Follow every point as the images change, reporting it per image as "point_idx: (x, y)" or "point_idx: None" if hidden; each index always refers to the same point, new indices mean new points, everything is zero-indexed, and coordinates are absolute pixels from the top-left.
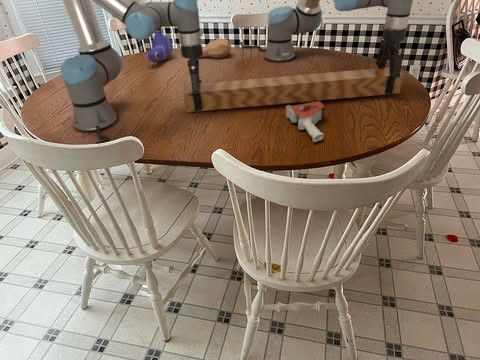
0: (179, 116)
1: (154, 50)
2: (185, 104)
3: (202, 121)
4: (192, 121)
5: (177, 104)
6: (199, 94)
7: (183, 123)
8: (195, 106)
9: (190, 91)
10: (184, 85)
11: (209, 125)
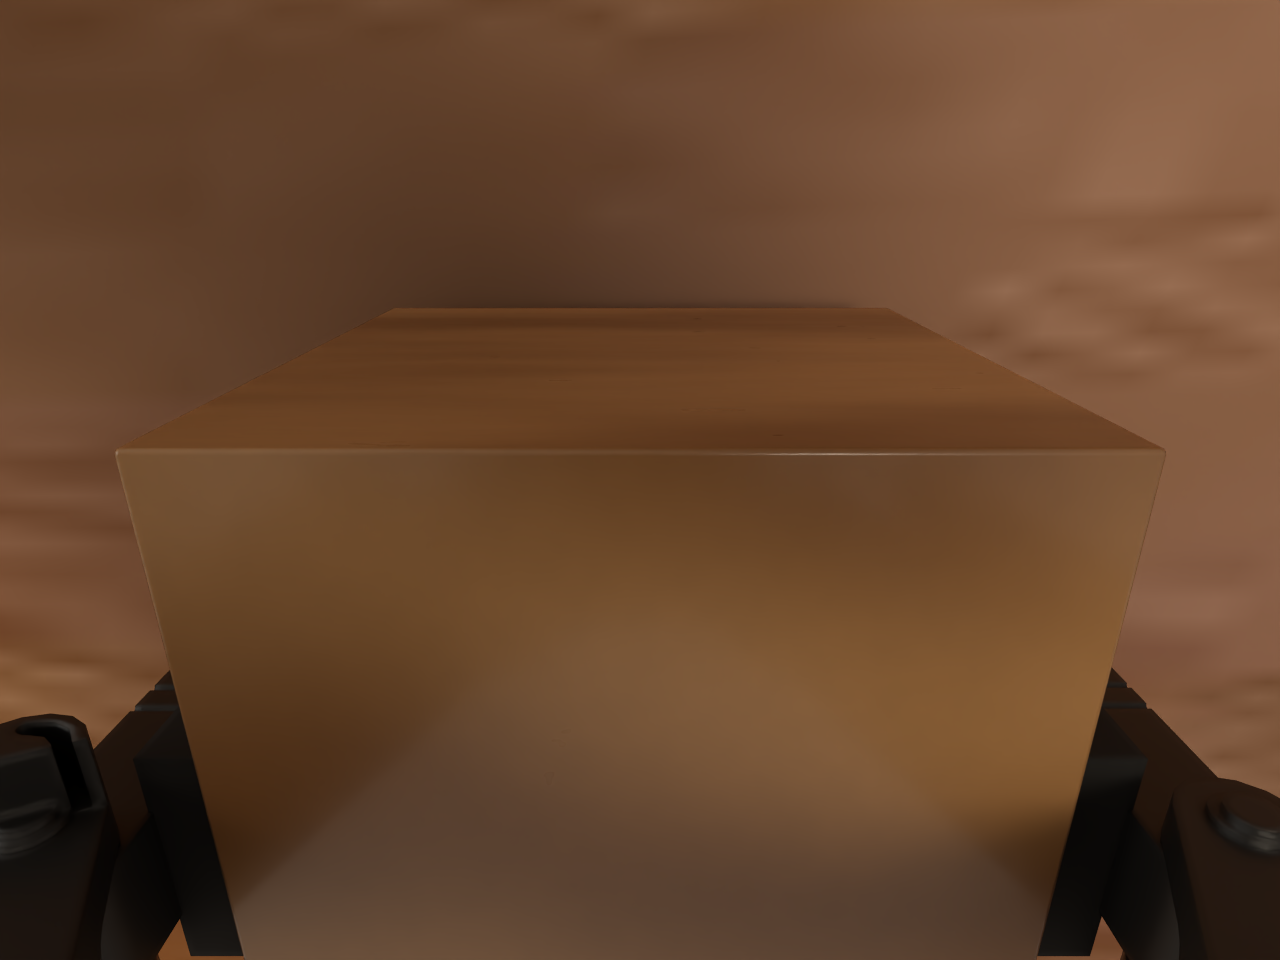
0: (385, 126)
1: None
2: (324, 344)
3: None
4: (148, 406)
5: (1053, 41)
6: (199, 910)
7: (54, 230)
8: None
9: (325, 704)
10: (1098, 452)
11: (13, 672)
